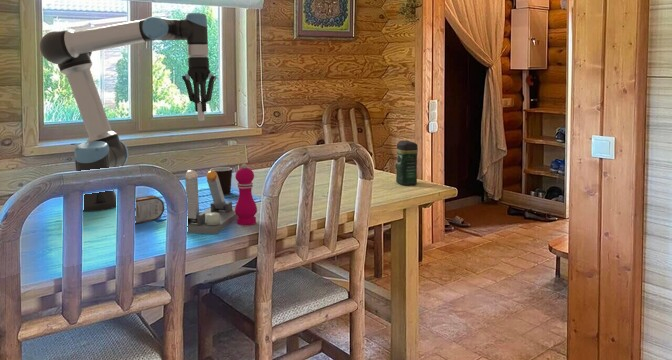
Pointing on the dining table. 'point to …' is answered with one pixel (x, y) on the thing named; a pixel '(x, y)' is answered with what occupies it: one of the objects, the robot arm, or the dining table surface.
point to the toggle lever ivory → (192, 195)
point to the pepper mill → (245, 197)
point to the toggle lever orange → (216, 190)
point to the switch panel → (201, 226)
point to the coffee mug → (224, 178)
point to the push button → (212, 218)
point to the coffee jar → (406, 163)
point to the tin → (148, 208)
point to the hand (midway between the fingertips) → (201, 120)
